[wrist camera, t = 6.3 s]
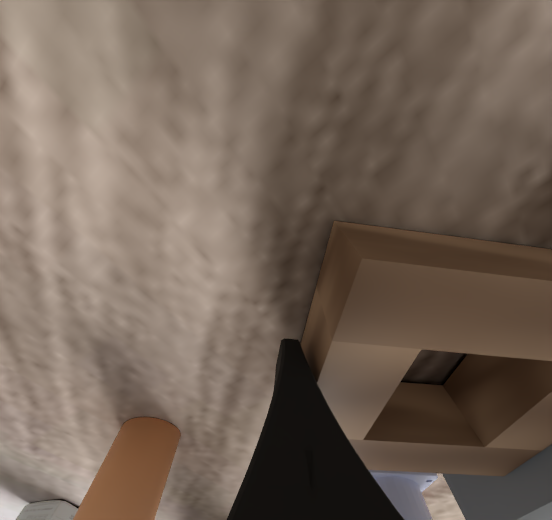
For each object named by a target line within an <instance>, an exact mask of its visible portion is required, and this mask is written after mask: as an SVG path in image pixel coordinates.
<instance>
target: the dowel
mask: <svg viewBox="0 0 552 520" xmlns="http://www.w3.org/2000/svg"><path fill="white" fill-rule="evenodd" d="M179 439H180V431H179V430H178V428H177V427H175V426H174V425H173V424H171V423H169V422H167V421H164V420H161V419H157V418H151V417H138V418H133V419H130V420H128V421H126V422H125V423H124V424H123V425H122V427H121V429H120V431H119V433H118V435H117V437H116V439H115V441H114V443H113V444H112V446H111V448H110V450H109V452H108V454H107V456H106V458H105V460H104V461H103V463H102V465H101V467H100V469H99V471H98V473H97V475H96V477H95V478H94V480H93V482H92V484H91V486H90V488H89V490H88V492H87V494H86V495H85V497H84V499H83V501H82V503H81V505H80V507H79V509H78V511H77V513H76V514H75V516H74V518H73V520H154V519H155V516H156V512H157V509H158V506H159V503H160V500H161V496H162V493H163V490H164V487H165V484H166V481H167V477H168V474H169V471H170V468H171V465H172V461H173V458H174V455H175V452H176V449H177V446H178V442H179Z"/></svg>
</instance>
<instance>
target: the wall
mask: <svg viewBox="0 0 552 520" xmlns="http://www.w3.org/2000/svg"><path fill="white" fill-rule="evenodd" d="M442 474H443V476H444V478H445V480H446V482H447V484H448V486H449V488H450V490H451V491H452V493H453V495H454V497H455V499H456V501H457V503H458V505H459V507H460V509H461V511H462V513H463V515H464V517H465V519H466V520H552V444H551V445H550V446H548V447H547V448H545V449H544V450H542V451H541V452H539V453H538V454H536V455H535V456H534V457H532V458H531V459H529V460H528V461H526V462H525V463H523V464H522V465H520V466H519V467H517V468H516V469H514V470H513V471H511V472H510V473H508V474H507V475H506V476H485V475H464V474H444V473H442Z"/></svg>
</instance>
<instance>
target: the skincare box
mask: <svg viewBox="0 0 552 520" xmlns="http://www.w3.org/2000/svg"><path fill="white" fill-rule="evenodd" d="M77 511H78V508H76V507H75V506H73V505H71V504H69V503H68V502H66V501H61V500H51V501H41V502H35V503H31V504H28V505H26V506H25V507H24V508H23V510H22V511H21V513H20V514H19V516H18V517H17V518H16V520H73V518H74V516H75V514H76V513H77Z"/></svg>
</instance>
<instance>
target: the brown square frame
mask: <svg viewBox="0 0 552 520" xmlns="http://www.w3.org/2000/svg"><path fill="white" fill-rule="evenodd" d="M301 347H302V350H303V353H304V355H305V358H306V360H307V362H308V365H309V367H310V369H311V371H312V374H313V376H314V378H315V380H316V382H317V384H318V386H319V388H320V390H321V392H322V394H323V396H324V398H325V400H326V402H327V404H328V406H329V407H330V409H331V411H332V413H333V415H334V416H335V418H336V420H337V422H338V423H339V425H340V427H341V428H342V430H343V432H344V433H345V435H346V437H347V438H348V440H349V441H350V443H351V445H352V446H353V448H354V449H355V451H356V452H357V454H358V455H359V457H360V458H361V460H362V462H363V463H364V465H365V466H366V468H367V469H368V470H382V471H403V472H423V473H444V474H464V475H485V476H506V475H507V474H508V473H510V472H511V471H513V470H514V469H516V468H517V467H519V466H520V465H522V464H523V463H525V462H526V461H528V460H529V459H531V458H532V457H534V456H535V455H536V454H538V453H539V452H541V451H542V450H544V449H545V448H547V447H548V446H550V445H551V444H552V249H545V248H538V247H530V246H522V245H515V244H507V243H500V242H492V241H484V240H477V239H469V238H462V237H454V236H446V235H439V234H431V233H424V232H416V231H408V230H401V229H393V228H385V227H378V226H370V225H363V224H355V223H347V222H340V221H334V222H333V226H332V230H331V234H330V237H329V241H328V245H327V248H326V252H325V256H324V260H323V263H322V267H321V271H320V274H319V278H318V282H317V286H316V289H315V293H314V297H313V300H312V304H311V308H310V312H309V315H308V319H307V323H306V326H305V330H304V334H303V338H302V341H301ZM421 349H423V350H434V351H445V352H456V353H467V354H468V355H467V356H466V357H465V358H464V360H463V361H462V362H461V363H460V365H459V366H458V367H457V368H456V370H455V371H454V372H453V373H452V375H451V376H450V377H449V378H448V380H447V381H446V382H445V383H444V385H443V386H442V385H429V384H417V383H404V382H401V380H402V379H403V377H404V375H405V374H406V372H407V371H408V369H409V368H410V366H411V365H412V363H413V361H414V360H415V358H416V357H417V355H418V354H419V352H420V351H421Z"/></svg>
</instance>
